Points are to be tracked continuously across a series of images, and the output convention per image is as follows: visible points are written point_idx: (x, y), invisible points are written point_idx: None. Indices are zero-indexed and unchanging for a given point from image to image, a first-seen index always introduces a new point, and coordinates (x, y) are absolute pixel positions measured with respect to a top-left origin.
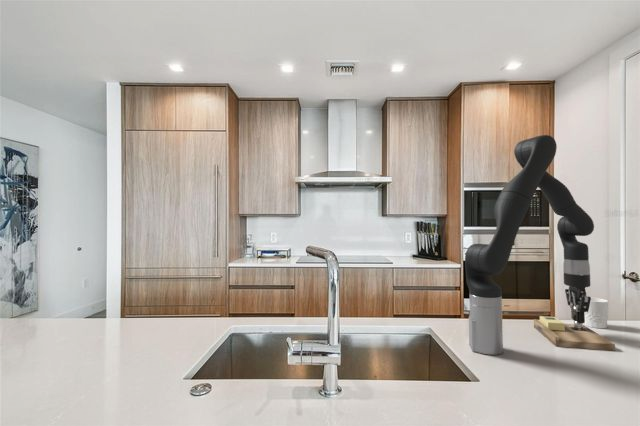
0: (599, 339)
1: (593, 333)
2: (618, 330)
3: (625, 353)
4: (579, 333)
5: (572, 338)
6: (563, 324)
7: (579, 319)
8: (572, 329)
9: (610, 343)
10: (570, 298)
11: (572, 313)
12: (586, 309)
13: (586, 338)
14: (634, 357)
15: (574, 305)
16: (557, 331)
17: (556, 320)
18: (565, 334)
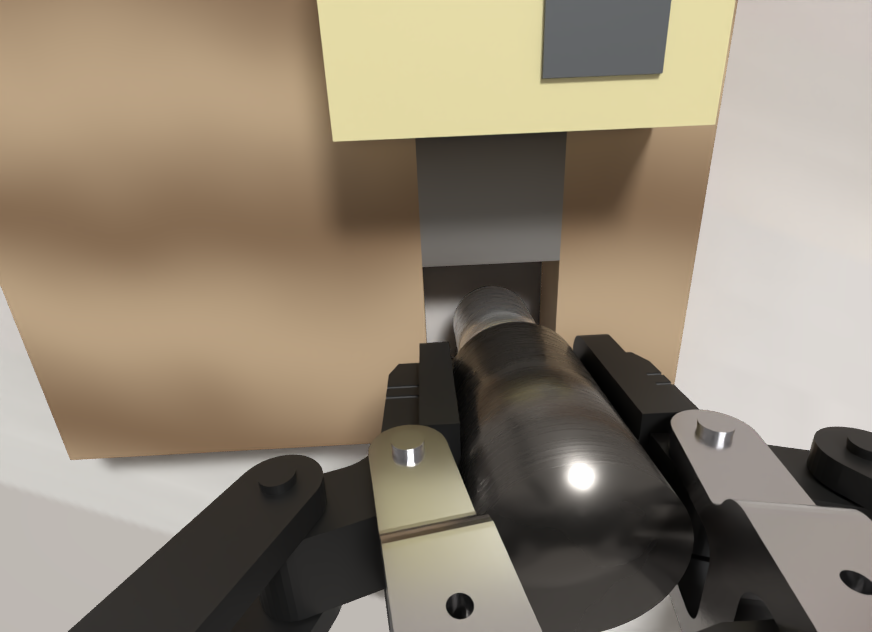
0: (165, 392)
1: (366, 412)
2: (666, 614)
3: (81, 466)
4: (317, 281)
5: (52, 124)
6: (335, 124)
7: (394, 380)
8: (458, 261)
9: (76, 435)
10: (806, 620)
11: (551, 363)
12: (266, 602)
13: (142, 286)
14: (12, 485)
15: (590, 504)
16: (305, 30)
17: (491, 67)
18: (204, 97)
